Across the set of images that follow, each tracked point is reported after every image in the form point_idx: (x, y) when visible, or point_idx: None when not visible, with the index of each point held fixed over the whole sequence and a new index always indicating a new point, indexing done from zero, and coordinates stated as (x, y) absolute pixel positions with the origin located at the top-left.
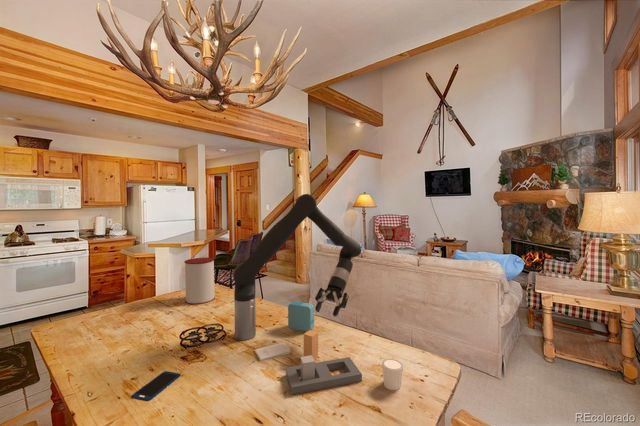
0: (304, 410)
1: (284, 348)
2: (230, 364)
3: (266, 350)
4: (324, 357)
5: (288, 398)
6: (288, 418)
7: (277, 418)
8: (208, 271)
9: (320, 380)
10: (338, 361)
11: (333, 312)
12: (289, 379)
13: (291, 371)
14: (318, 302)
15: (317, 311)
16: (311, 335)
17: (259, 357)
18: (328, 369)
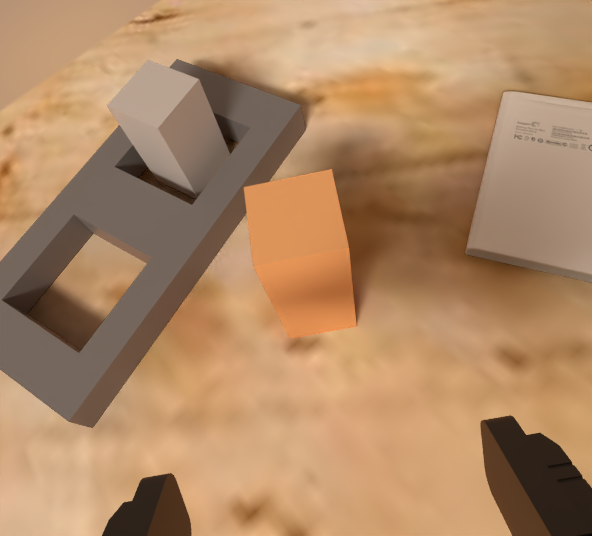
0: (102, 76)
1: (520, 234)
2: (574, 2)
3: (574, 148)
4: (260, 369)
5: None
6: (124, 31)
7: (152, 12)
8: None
9: (102, 156)
10: (106, 329)
11: (156, 491)
12: (221, 76)
13: (256, 107)
14: (586, 523)
15: (486, 449)
16: (261, 196)
17: (524, 93)
18: (114, 234)
